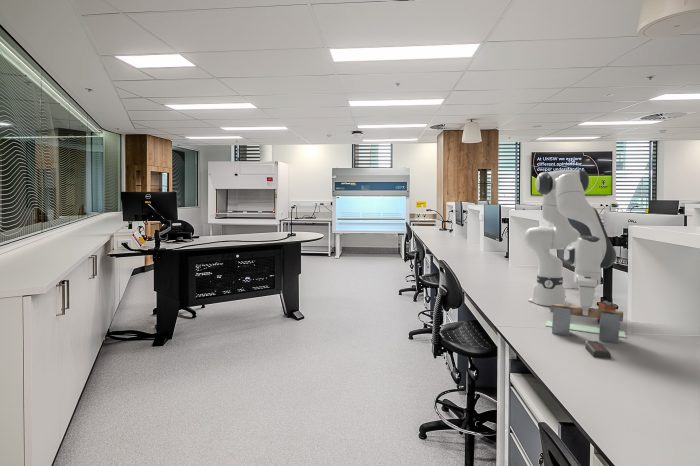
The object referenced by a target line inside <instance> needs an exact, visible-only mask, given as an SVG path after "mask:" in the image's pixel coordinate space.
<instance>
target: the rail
mask: <svg viewBox="0 0 700 466" xmlns="http://www.w3.org/2000/svg"><path fill="white" fill-rule="evenodd" d="M549 307H550V309H549V312H550V313H553V307H560V308H568V309H571V312H570V315H571V316H577V317H585V318H591V319H592V318H594V319H598V318H599V319H600V318H601V313H608V314H617V315H620V322H622V323H623V322H624V311H621V310H615V311H613V310H604V309H598V308H594V307H589V310H588V315H587V316H586V315H583V307H582V306H580V305H579V306H578V305H577V306H576V305H570V304H569V305H563V304H554V303H551V305H550V306H549Z"/></svg>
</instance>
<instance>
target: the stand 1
mask: <svg viewBox="0 0 700 466" xmlns="http://www.w3.org/2000/svg"><path fill="white" fill-rule="evenodd" d="M570 312H571V309H568V308H560V307H553V312H552V321H553V322H552V327H551V334H555V335H561V336H567V337H569V336H570V332H571V330H570V324H571V316H572V315H570Z"/></svg>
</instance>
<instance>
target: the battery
mask: <svg viewBox="0 0 700 466" xmlns="http://www.w3.org/2000/svg"><path fill="white" fill-rule="evenodd" d="M616 308H617V307H616V306H615V305H614V304H613V303H612V302H611V301H610V302H609V301H608V300H603V301H599V302H598V307H597V309H604V310H613V311H617V310H616ZM597 323H599V324H600V319H599V318H597Z"/></svg>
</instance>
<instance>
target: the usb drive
mask: <svg viewBox="0 0 700 466" xmlns="http://www.w3.org/2000/svg"><path fill="white" fill-rule="evenodd" d="M585 350H587V352H588V353H589V354H590V355H591V356H592V358H598V359H599V358H600V359H609V360H610V359H611V358H612V354H611V352H610V351H609V350H608V348H606V347H605V346H604V345H603V344H602V343H601V342H599V341H595V340H585Z"/></svg>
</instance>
